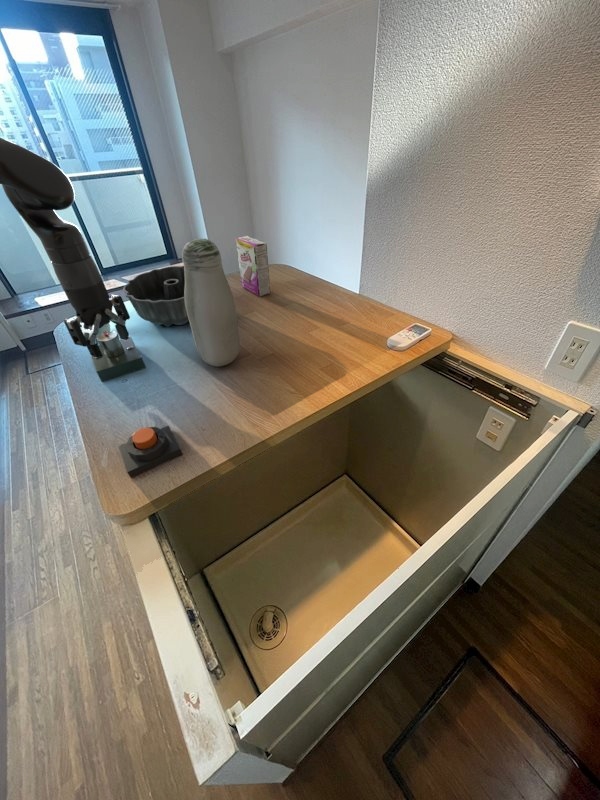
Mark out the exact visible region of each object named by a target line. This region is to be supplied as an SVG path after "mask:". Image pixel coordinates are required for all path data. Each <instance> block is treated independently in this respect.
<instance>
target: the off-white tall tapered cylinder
mask: <svg viewBox="0 0 600 800" xmlns="http://www.w3.org/2000/svg"><path fill="white" fill-rule="evenodd" d="M181 260H182V264H183V266H184V272H185V290H184V299H185V307H186V311H187V315H188V319H189V321H188V322H189V326H190V329H191V333H192V337H193V341H194V344H195V348H196V350H197V353H198V355H199V357H200V359H201V360H202V361H203V362H204V363H206V364H207V365H210V366H211V367H216V368H217V367H219V368H220V367H224V366H227V365H229V364H231V363H232V362H233V361H234V360H235V359H236V358H237V357H238V354H239V351H240V346H241V341H240V333H239V328H238V317H237V309H236V308H237V307H236V302H235V298H234V294H233V292H232V289H231V286H230V283H229V281H228V279H227V277H226V274H225V271H224V267H223V263H222V261H223V260H222V256H221V252H220V250H219V248H218V246H217V245H216V244H215V242H213V241H212V240H210V239H208V238H195V239H192V240H190V241H188V242H186V244H185V245H184V246H183V248H182V250H181Z"/></svg>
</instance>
